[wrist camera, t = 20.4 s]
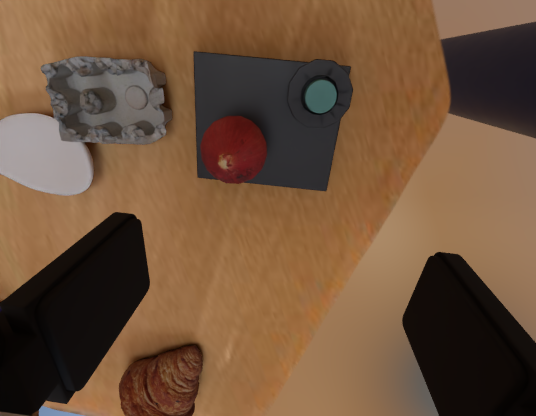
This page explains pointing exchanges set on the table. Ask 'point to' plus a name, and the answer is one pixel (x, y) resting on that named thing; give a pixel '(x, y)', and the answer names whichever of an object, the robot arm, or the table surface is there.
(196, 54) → the scale
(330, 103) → the button
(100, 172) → the table surface
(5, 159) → the white plastic spork
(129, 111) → the egg carton
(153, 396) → the pastry
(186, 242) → the table surface
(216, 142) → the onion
